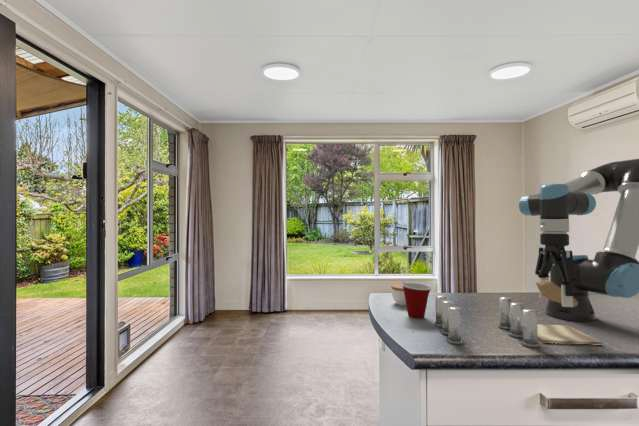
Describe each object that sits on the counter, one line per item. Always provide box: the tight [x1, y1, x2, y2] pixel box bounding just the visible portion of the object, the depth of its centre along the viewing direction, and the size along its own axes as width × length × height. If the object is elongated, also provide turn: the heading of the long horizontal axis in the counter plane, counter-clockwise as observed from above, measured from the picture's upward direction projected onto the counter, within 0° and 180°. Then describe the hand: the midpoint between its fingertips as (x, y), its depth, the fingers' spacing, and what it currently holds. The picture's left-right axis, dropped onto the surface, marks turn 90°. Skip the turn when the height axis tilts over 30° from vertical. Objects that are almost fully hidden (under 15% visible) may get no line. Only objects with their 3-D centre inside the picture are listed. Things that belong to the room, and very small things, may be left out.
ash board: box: [537, 323, 603, 345], centre depth 105 cm, size 16×16×1 cm
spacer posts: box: [434, 294, 540, 349], centre depth 106 cm, size 25×20×10 cm
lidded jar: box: [390, 281, 406, 306], centre depth 146 cm, size 11×11×9 cm
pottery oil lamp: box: [535, 279, 578, 307], centre depth 105 cm, size 9×12×7 cm
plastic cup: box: [401, 282, 432, 320], centre depth 126 cm, size 11×11×12 cm
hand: (555, 302), depth 106 cm, fingers closed on pottery oil lamp, 11 cm apart
